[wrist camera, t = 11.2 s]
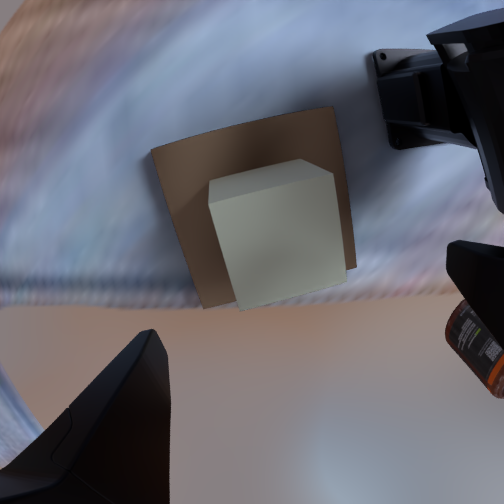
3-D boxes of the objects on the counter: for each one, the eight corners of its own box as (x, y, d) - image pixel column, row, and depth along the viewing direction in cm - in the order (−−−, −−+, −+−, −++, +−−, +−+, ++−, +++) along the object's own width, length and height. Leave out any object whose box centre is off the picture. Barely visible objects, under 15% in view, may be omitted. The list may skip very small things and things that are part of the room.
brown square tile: (325, 106, 17) (333, 106, 16) (349, 259, 21) (356, 267, 20) (154, 147, 17) (150, 149, 16) (203, 299, 21) (203, 309, 20)
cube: (300, 158, 17) (333, 173, 12) (315, 241, 19) (347, 281, 14) (209, 180, 17) (208, 204, 12) (232, 263, 19) (239, 311, 14)
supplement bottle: (476, 335, 27) (538, 403, 16) (435, 348, 26) (498, 430, 16) (492, 285, 24) (568, 350, 14) (451, 295, 24) (533, 376, 13)
